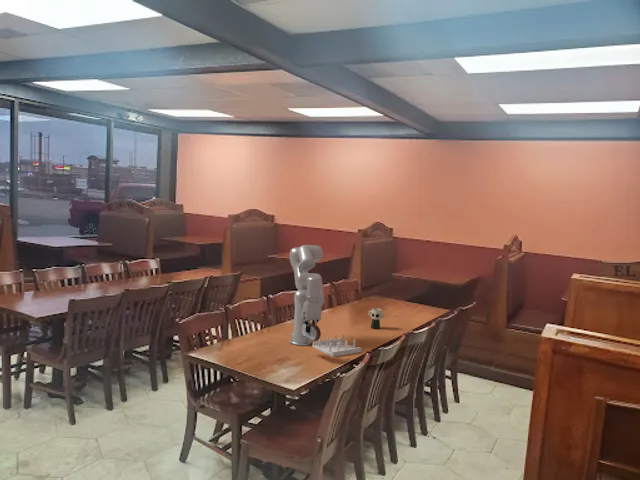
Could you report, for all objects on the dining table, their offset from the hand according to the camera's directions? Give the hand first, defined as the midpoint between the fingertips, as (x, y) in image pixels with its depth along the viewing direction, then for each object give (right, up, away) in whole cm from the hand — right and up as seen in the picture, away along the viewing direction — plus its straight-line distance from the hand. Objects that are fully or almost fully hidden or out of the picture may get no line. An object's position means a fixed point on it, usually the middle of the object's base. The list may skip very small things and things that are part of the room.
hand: (310, 331), depth 280 cm
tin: (0, -4, 0) cm, 4 cm away
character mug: (+43, -10, +70) cm, 83 cm away
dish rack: (+15, -13, +16) cm, 26 cm away
